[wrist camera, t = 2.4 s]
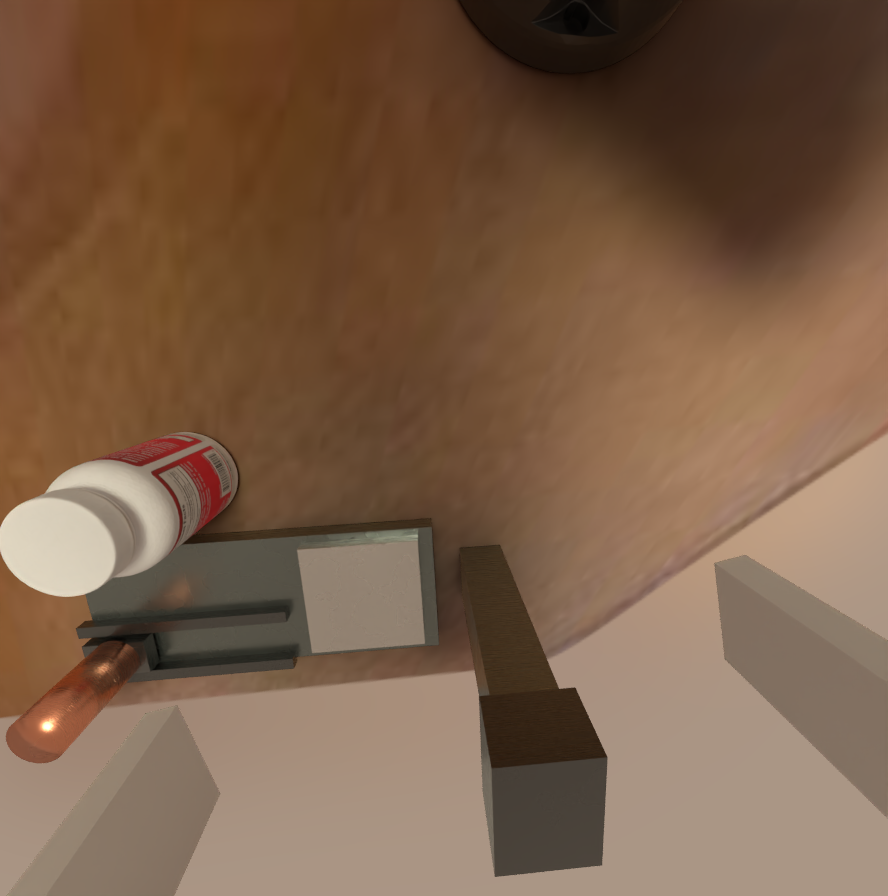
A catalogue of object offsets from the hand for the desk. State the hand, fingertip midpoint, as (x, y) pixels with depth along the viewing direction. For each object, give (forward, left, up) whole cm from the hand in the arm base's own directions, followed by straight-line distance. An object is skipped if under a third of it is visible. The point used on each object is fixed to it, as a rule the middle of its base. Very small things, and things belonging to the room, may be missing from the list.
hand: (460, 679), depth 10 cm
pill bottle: (-11, -13, -20) cm, 26 cm away
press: (+1, -13, -20) cm, 24 cm away
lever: (-5, -25, -18) cm, 31 cm away
